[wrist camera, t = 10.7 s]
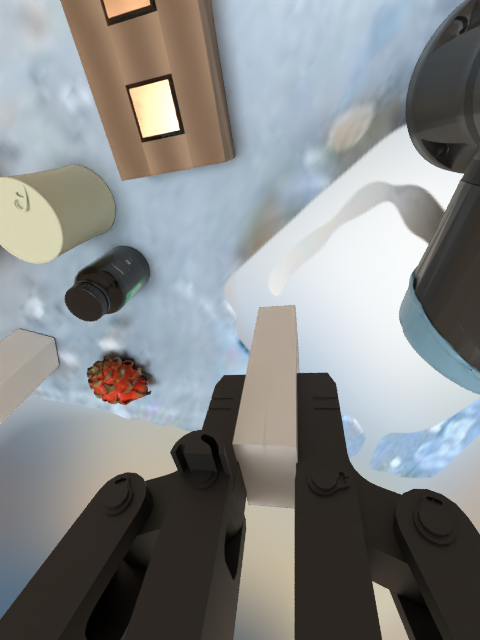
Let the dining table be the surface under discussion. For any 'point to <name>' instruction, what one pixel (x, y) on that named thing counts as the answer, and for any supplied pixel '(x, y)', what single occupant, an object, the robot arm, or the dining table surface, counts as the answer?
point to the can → (53, 212)
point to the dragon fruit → (117, 381)
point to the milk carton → (24, 367)
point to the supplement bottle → (107, 284)
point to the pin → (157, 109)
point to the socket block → (150, 67)
